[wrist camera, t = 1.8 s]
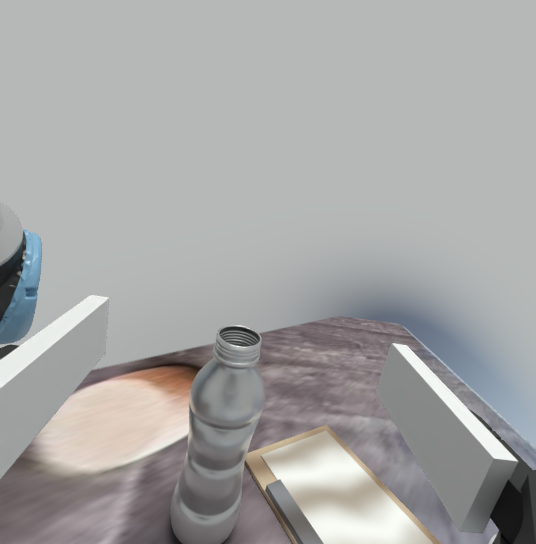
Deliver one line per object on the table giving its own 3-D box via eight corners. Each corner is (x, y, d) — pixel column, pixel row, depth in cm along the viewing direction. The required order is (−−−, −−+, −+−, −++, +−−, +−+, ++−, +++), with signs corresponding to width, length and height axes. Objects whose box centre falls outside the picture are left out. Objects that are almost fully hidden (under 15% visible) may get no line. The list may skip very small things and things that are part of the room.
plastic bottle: (152, 547, 28) (182, 342, 22) (187, 481, 34) (216, 310, 29) (222, 576, 27) (270, 369, 21) (244, 502, 33) (285, 329, 28)
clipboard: (241, 458, 38) (243, 449, 38) (325, 427, 46) (327, 420, 46) (353, 643, 24) (357, 632, 24) (445, 553, 32) (449, 544, 32)
